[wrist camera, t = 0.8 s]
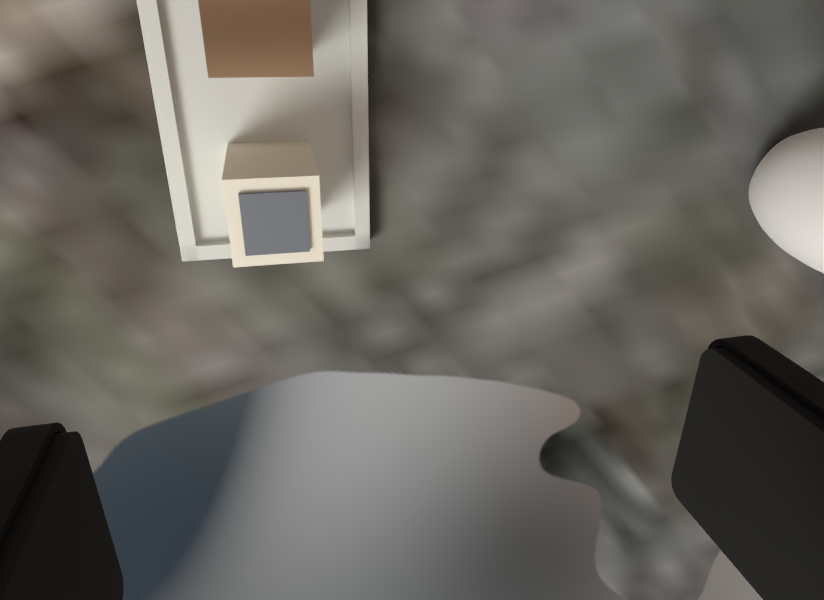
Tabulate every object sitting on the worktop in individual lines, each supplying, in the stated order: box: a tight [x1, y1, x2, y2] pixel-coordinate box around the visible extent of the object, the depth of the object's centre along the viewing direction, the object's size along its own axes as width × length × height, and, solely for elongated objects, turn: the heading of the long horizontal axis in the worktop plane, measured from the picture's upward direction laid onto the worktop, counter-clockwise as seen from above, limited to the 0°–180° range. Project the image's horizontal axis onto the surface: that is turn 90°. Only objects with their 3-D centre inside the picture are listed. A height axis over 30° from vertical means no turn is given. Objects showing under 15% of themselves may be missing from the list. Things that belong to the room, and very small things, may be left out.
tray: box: [137, 0, 370, 261], centre depth 30 cm, size 16×10×1 cm, turn 179°
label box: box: [222, 141, 324, 267], centre depth 29 cm, size 4×4×6 cm
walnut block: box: [198, 0, 314, 78], centre depth 25 cm, size 4×4×6 cm
